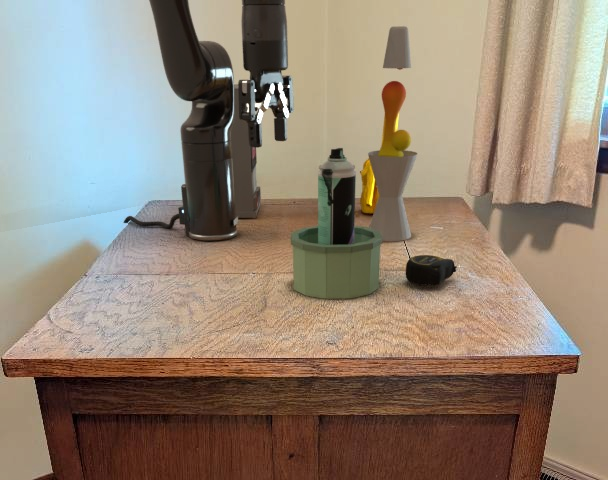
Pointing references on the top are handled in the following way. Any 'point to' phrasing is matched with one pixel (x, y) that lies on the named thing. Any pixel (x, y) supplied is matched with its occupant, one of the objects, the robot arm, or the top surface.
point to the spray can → (336, 200)
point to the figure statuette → (370, 183)
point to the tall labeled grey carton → (244, 166)
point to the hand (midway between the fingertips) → (268, 143)
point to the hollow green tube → (336, 264)
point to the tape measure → (429, 269)
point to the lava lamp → (393, 148)
